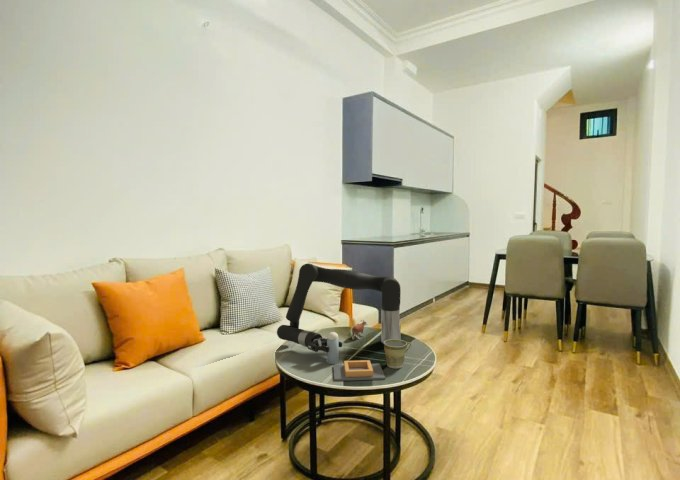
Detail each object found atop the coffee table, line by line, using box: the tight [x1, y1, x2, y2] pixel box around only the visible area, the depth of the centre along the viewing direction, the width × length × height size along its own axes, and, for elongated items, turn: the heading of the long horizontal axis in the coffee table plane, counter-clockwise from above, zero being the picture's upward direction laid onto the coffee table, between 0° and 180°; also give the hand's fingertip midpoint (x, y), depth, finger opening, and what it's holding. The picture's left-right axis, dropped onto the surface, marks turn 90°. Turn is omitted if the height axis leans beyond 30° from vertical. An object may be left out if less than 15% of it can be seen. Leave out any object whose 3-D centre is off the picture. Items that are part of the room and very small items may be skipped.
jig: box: [332, 359, 386, 382], centre depth 153 cm, size 20×14×3 cm
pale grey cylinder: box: [326, 331, 340, 365], centre depth 164 cm, size 5×5×14 cm
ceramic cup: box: [383, 339, 412, 369], centre depth 160 cm, size 13×10×10 cm
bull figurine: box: [351, 319, 368, 340], centre depth 199 cm, size 4×13×8 cm, turn 147°
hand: (335, 347), depth 163 cm, fingers open, 8 cm apart
